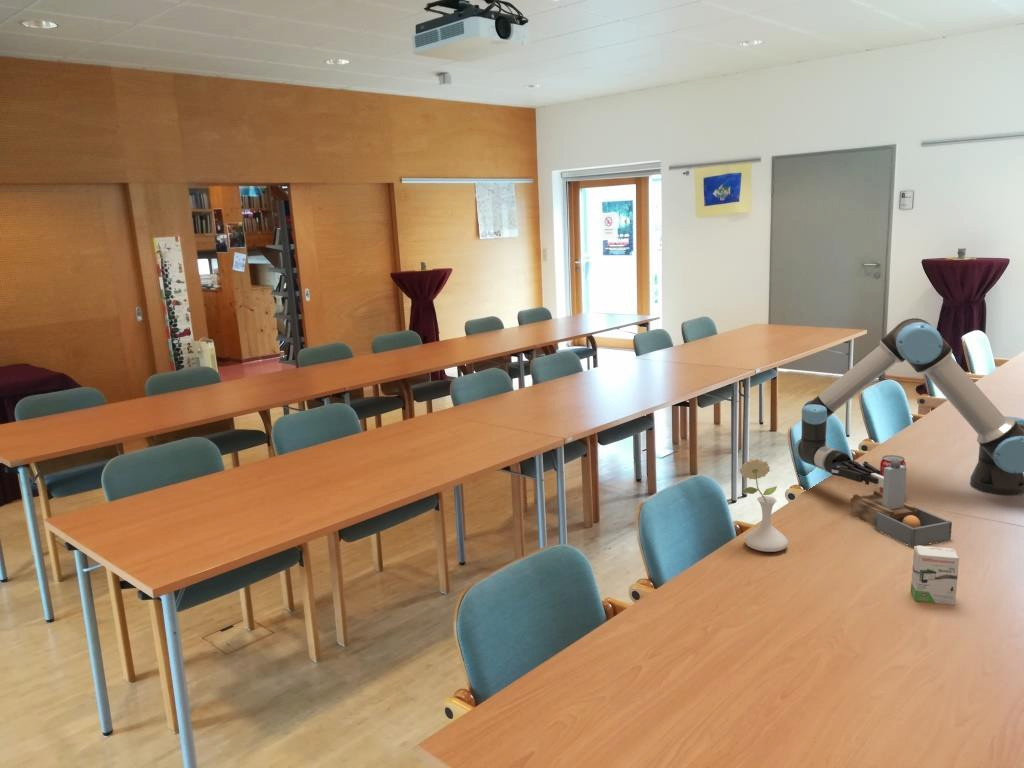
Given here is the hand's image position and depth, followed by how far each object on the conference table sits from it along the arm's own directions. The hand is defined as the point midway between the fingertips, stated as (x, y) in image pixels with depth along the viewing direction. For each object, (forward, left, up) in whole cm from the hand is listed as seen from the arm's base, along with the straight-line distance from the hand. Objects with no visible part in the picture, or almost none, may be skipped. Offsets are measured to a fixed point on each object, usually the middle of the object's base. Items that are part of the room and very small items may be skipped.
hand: (888, 484), depth 216 cm
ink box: (0, +45, -12) cm, 46 cm away
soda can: (-6, -22, -12) cm, 26 cm away
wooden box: (+1, -2, -12) cm, 12 cm away
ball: (-5, +7, -9) cm, 12 cm away
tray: (-5, +7, -12) cm, 15 cm away
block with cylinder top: (-1, +1, -7) cm, 7 cm away
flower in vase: (+36, +21, -12) cm, 43 cm away
